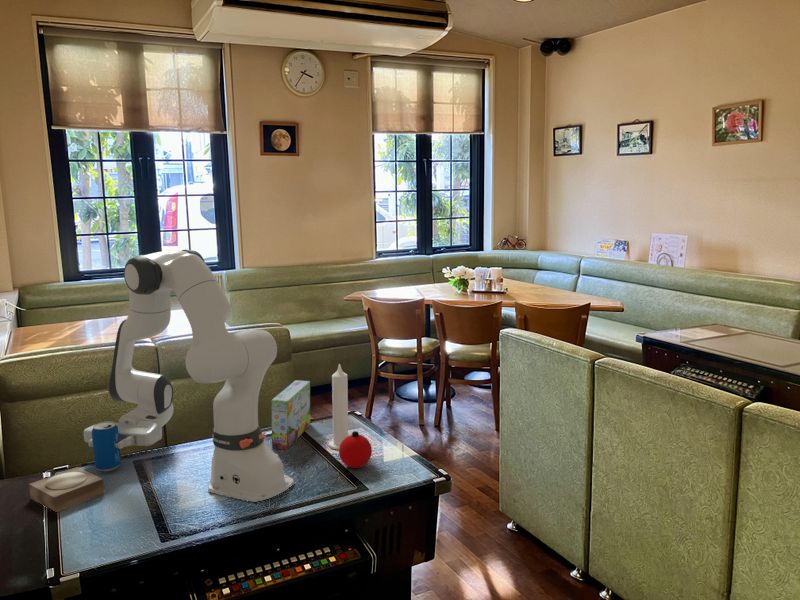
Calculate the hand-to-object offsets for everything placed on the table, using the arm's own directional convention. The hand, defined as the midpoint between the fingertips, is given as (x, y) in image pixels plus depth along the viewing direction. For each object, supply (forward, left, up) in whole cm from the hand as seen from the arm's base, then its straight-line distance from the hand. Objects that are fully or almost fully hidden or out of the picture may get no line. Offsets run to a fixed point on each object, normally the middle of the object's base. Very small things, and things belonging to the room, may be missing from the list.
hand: (104, 445), depth 171 cm
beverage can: (0, -1, -7) cm, 7 cm away
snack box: (-22, -48, -8) cm, 53 cm away
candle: (-39, -51, -8) cm, 65 cm away
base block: (-5, +13, -8) cm, 16 cm away
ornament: (-52, -42, -8) cm, 67 cm away
